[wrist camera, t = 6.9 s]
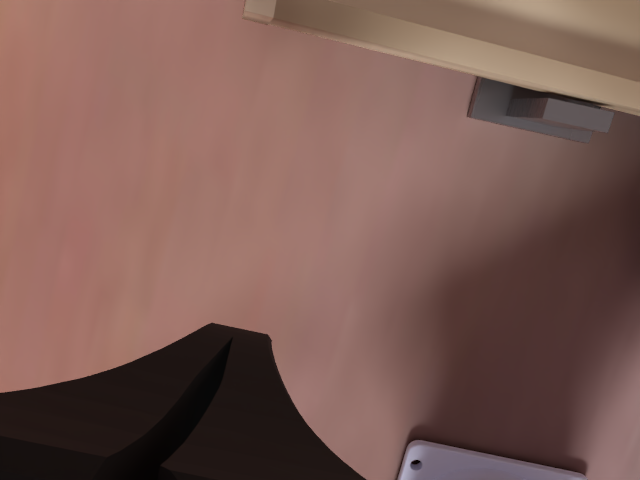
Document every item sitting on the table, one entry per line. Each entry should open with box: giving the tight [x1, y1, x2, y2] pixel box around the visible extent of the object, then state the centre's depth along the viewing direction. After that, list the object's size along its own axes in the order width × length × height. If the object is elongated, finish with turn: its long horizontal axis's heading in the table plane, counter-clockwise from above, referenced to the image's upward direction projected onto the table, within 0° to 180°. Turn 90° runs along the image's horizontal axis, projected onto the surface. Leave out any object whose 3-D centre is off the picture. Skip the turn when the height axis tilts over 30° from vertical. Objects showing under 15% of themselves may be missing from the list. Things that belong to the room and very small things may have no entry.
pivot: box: [467, 76, 614, 143], centre depth 17 cm, size 7×4×4 cm, turn 168°
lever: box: [242, 0, 640, 116], centre depth 16 cm, size 11×20×2 cm, turn 78°
